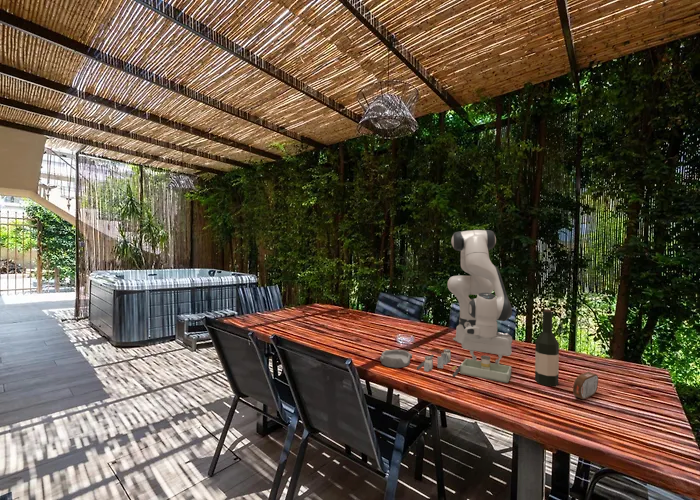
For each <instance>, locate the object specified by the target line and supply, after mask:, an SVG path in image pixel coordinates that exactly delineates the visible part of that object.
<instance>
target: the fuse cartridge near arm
mask: <svg viewBox="0 0 700 500" xmlns="http://www.w3.org/2000/svg"><path fill="white" fill-rule="evenodd" d="M450 352H451V349H449V348H444V349H443V353H447V355H448V363H450V362H451V360H450Z"/></svg>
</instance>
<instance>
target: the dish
mask: <svg viewBox="0 0 700 500" xmlns="http://www.w3.org/2000/svg"><path fill="white" fill-rule="evenodd" d="M412 358H413V354H412V353H410V352H409V351H406V350H403V349H389V350H388V349H387V350H386V349H385V350H384V351H382V353H381V356H380V357H379V361H380V362H381V364H382V365H383V366H385V367H388V368H393V369H394V368H395V369H396V368H397V369H400V368H406V367H407V366H409V365H410V363H411V359H412Z"/></svg>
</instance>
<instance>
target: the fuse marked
mask: <svg viewBox="0 0 700 500" xmlns="http://www.w3.org/2000/svg"><path fill="white" fill-rule="evenodd" d="M480 361H481V369H485V370H490V363H491V356H490V355H484V354H483V355H481V356H480Z"/></svg>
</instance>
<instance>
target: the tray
mask: <svg viewBox="0 0 700 500" xmlns="http://www.w3.org/2000/svg"><path fill="white" fill-rule="evenodd" d="M495 363H496V362H490V370H485V369H481V360H478V359H477V360H476V361H474V360H472V358H465V359H464V360H463V361H462V362H461V363H460V365H459V366H460V371H459V374H461V375H465V376H471V377H475V378H479V379H486V380H490V381H495V382H500V383H505V384H509V381H510V379H511V377H512V366H511V365H504V364H500V363H499V365H496V364H495Z"/></svg>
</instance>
